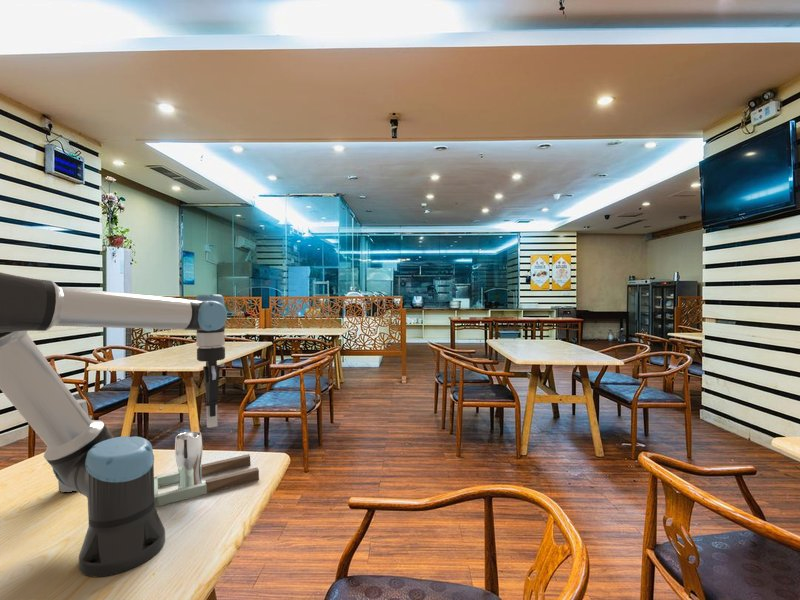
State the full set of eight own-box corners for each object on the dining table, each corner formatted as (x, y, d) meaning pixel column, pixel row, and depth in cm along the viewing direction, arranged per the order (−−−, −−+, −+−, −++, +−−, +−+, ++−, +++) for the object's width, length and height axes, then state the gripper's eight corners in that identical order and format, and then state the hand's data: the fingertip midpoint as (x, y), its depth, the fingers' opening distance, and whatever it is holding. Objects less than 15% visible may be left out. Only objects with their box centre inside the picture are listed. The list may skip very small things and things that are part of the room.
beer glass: (208, 480, 117) (206, 430, 117) (195, 492, 110) (194, 439, 110) (184, 481, 117) (183, 431, 117) (171, 493, 110) (169, 440, 110)
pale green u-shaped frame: (206, 493, 110) (206, 484, 110) (151, 507, 103) (151, 498, 103) (201, 474, 122) (201, 466, 122) (151, 486, 115) (151, 477, 115)
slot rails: (259, 479, 117) (258, 469, 117) (206, 493, 110) (206, 482, 110) (249, 463, 129) (248, 454, 129) (201, 474, 122) (201, 464, 122)
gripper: (228, 347, 113) (229, 430, 113) (221, 343, 124) (222, 418, 124) (199, 349, 109) (200, 435, 109) (194, 345, 120) (195, 423, 120)
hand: (212, 426), depth 117 cm, fingers closed
